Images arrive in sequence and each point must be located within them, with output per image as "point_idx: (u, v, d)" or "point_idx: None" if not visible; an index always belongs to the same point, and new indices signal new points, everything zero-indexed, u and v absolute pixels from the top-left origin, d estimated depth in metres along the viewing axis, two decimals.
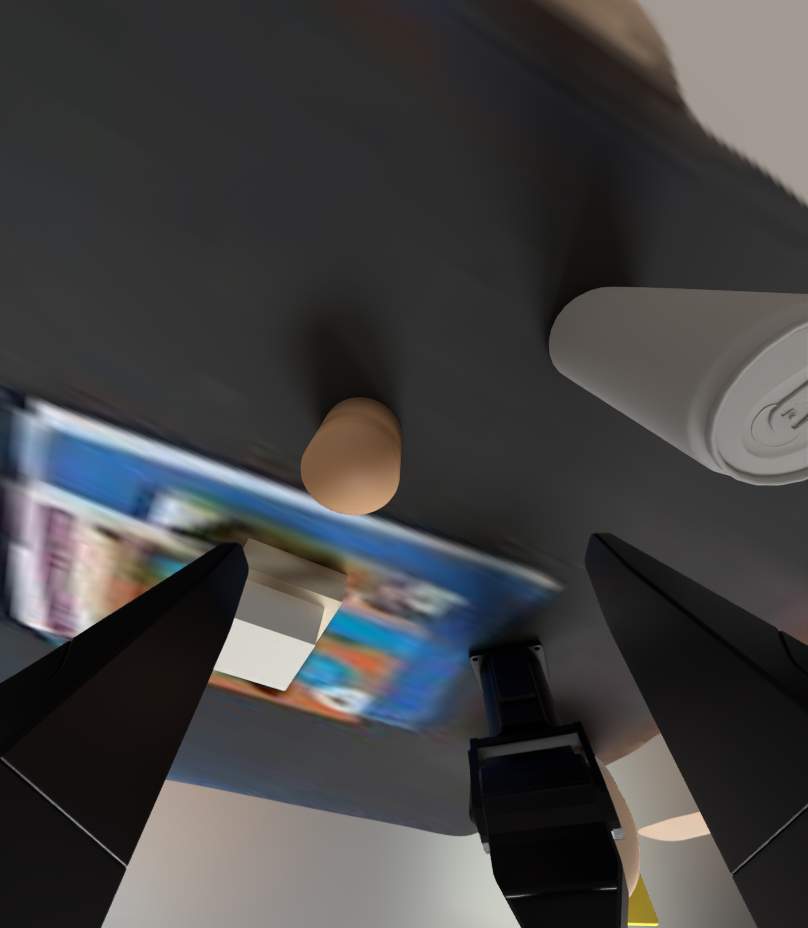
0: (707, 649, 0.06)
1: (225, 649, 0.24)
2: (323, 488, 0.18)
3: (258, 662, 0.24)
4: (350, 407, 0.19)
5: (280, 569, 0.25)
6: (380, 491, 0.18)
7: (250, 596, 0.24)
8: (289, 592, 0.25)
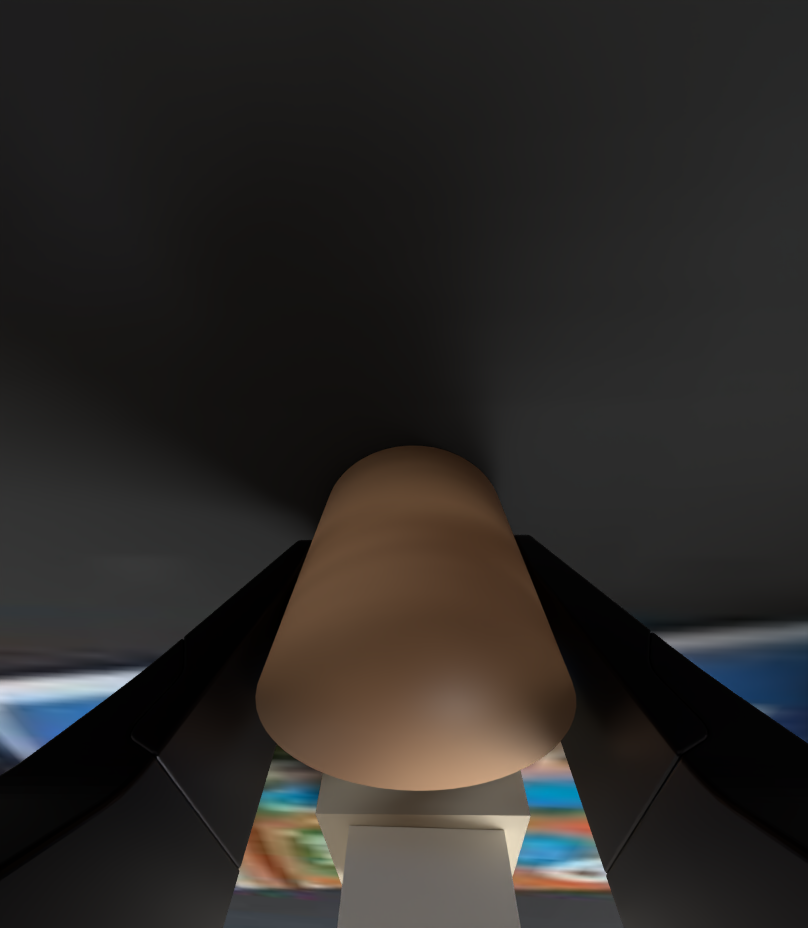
0: (582, 651, 0.06)
1: None
2: (367, 762, 0.06)
3: None
4: (343, 501, 0.08)
5: None
6: (526, 724, 0.06)
7: (368, 871, 0.13)
8: (429, 824, 0.13)
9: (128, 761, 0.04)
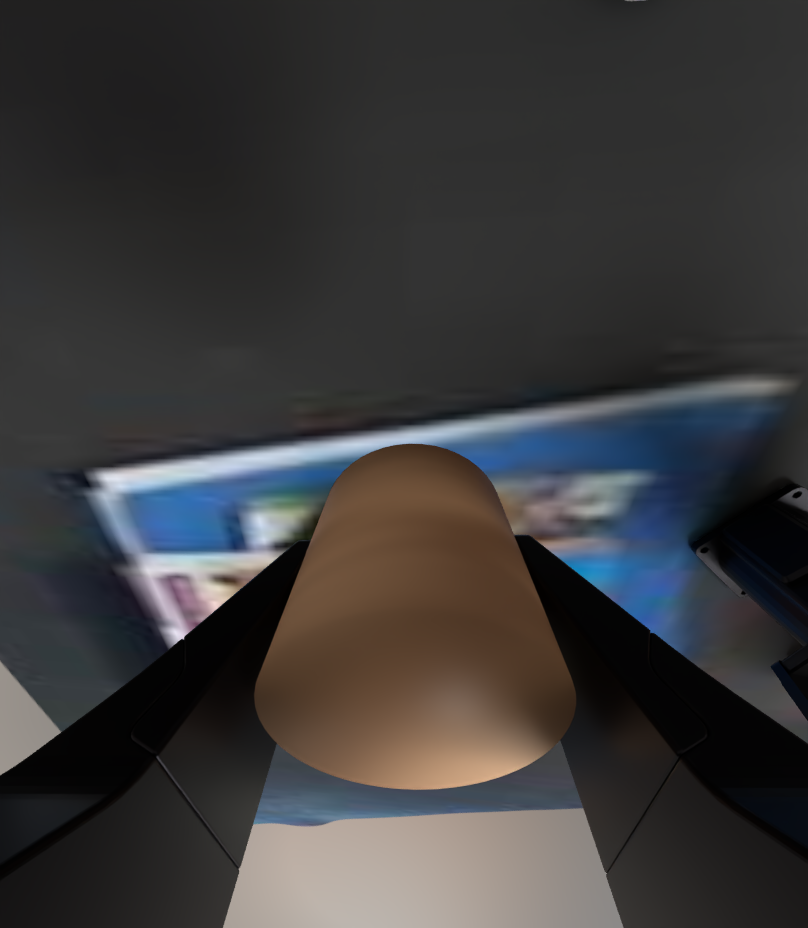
0: (582, 651, 0.06)
1: None
2: (366, 761, 0.06)
3: None
4: (342, 499, 0.08)
5: None
6: (526, 723, 0.06)
7: None
8: None
9: (127, 761, 0.04)
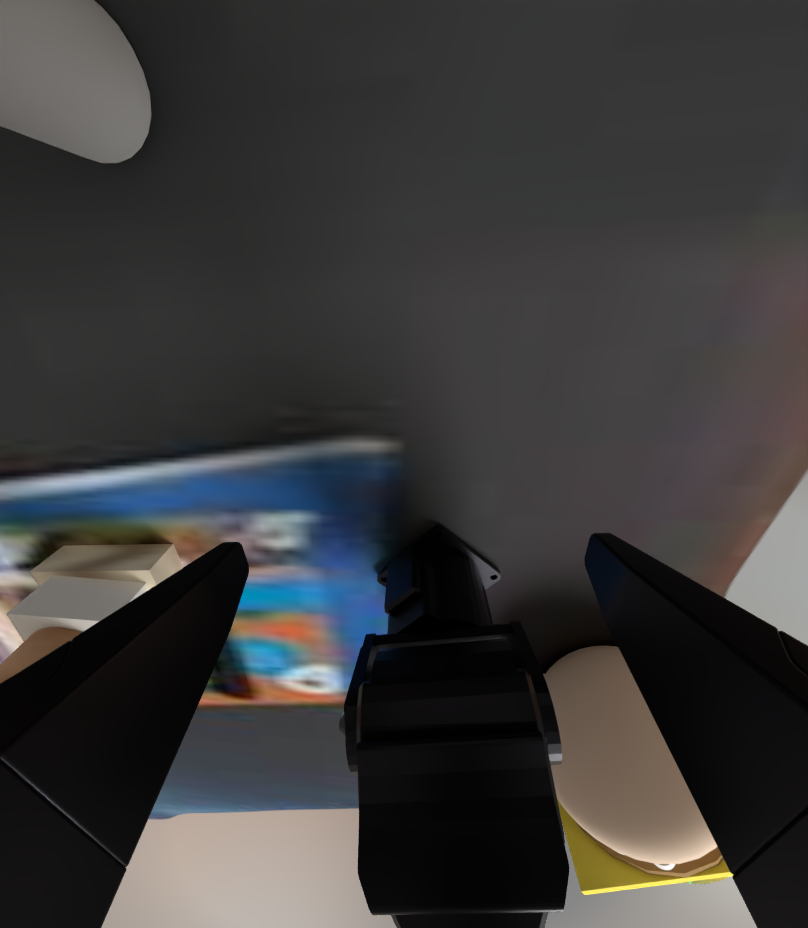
0: (707, 649, 0.06)
1: None
2: None
3: None
4: None
5: (84, 561, 0.23)
6: None
7: (50, 590, 0.22)
8: None
9: None
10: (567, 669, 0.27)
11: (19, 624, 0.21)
